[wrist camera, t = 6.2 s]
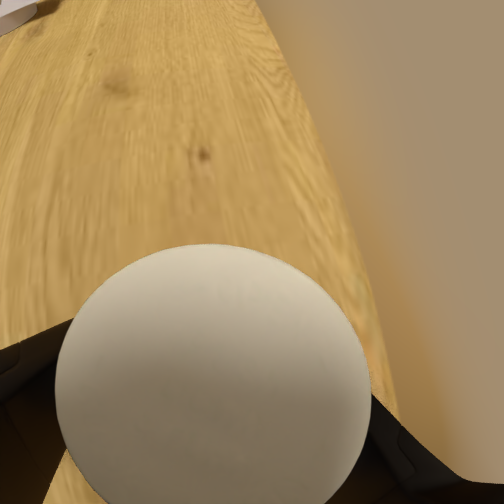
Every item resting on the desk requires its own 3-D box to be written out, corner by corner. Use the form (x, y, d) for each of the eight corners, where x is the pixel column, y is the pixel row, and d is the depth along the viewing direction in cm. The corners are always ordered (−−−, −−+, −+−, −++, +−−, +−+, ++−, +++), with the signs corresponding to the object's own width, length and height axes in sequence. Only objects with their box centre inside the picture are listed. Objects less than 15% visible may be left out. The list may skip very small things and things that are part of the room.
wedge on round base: (64, -6, 30) (-3, 21, 27) (59, -37, 24) (-11, -7, 21) (54, 14, 27) (-19, 45, 24) (46, -22, 21) (-31, 14, 18)
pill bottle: (205, 462, 13) (216, 610, 2) (120, 373, 14) (-28, 364, 3) (292, 383, 15) (451, 387, 5) (210, 296, 16) (228, 154, 6)
